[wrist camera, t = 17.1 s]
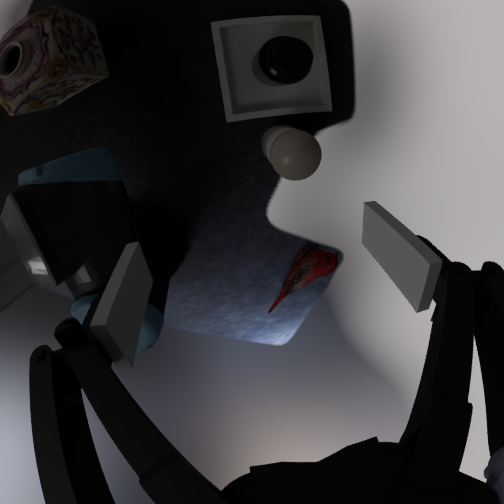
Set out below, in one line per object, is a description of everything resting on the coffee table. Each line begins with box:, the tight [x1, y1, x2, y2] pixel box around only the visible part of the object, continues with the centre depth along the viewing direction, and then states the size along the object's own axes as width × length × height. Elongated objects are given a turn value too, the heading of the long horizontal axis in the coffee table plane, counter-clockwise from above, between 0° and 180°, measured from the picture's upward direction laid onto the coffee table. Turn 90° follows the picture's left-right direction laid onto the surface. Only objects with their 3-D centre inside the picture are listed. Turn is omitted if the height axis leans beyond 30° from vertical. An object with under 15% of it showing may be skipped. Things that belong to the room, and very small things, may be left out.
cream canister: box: [261, 124, 321, 180], centre depth 40 cm, size 7×7×10 cm
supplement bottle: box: [251, 36, 314, 87], centre depth 31 cm, size 7×7×12 cm
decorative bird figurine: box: [268, 247, 339, 313], centre depth 52 cm, size 3×18×10 cm, turn 141°
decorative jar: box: [0, 5, 110, 116], centre depth 24 cm, size 12×12×18 cm
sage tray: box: [211, 15, 332, 122], centre depth 36 cm, size 16×16×3 cm
